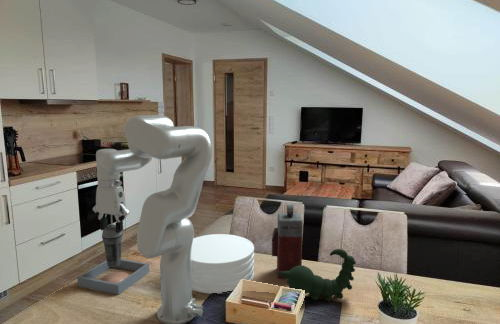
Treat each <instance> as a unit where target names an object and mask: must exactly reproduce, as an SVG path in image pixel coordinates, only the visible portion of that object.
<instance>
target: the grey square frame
mask: <svg viewBox="0 0 500 324" xmlns="http://www.w3.org/2000/svg"><path fill="white" fill-rule="evenodd" d="M111 268H112V267H108V264H107V259H106V260H104V261H103V262H101V263H99V264H97V265H96V266H94V267H92V268H91V269H89V270H87V271H86V272H84V273H82V274H80V275H78V276H77V286H78V287H81V288H86V289H91V290H95V291H99V292H103V293H108V294H109V293H110V294H114V295H121V294H122V293H123V292H125V291H126V290H127V289H129V288H130V287H132V286H133V285H134V284H135V283H137V282H138V281H140V280H141V279H142V278H143V277H145V276H146V275H147V274H149V273H150V263H146V262H141V261H135V260H131V259H130V260H129V259H124V258H121V261H120V265H119V266H116V267H115V268H118V269H123V270H130V271H134V272H132V273H131V274H130V275H129V273H127V272H124V271H115V272H110V273H109V274H105V275H104V276H103V277H102V278H101V279H97V277H99V276H100V275H101V274H102V273H105V272H107V270H109V269H111Z"/></svg>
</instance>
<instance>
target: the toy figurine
mask: <svg viewBox="0 0 500 324" xmlns="http://www.w3.org/2000/svg"><path fill="white" fill-rule="evenodd" d="M334 255H335V256H336V255H337V256H339V257H340V258H342V259H343V262H342V265H341V269H340V270H339V273H338V275H337V276H336V278H334V279H329V278H323V277H322V276H320V275H317V274H315V273H314V272H313V270H311V269H310V267H308V266H306V265H299V266H295V267H293V268H292V269H291V270H290V271H280V272H279V274H280V275H282V276H283V277H284V278H286V279H285V280H286V282H287V285H288V288H289V289H290V288H295V289H302V290H305V294H304V295H306V294H309V295H310V296H311V300H313V301H317V300H319V298H320V296H321V297H323V298H324V301H325V302H326V301H328V302H331V300H332V299H331V298H332V297H334V296H336V297H337V298H338V299H340V300H341V299H343V298H344V293H343V291H344V290H345V289H347V290H352V289H353V286H352V284H351V281H354V280H355V278H354V276H353V274H352V273H355V272H356V269H355V267H354V265H356V263H357V262H356V260H355V258H354V257H353V256H352V255H348V253H347V251H346V250H344V249H342V248H336V249H333V250H331V251H330V253H329V256H334ZM328 302H327V303H328Z"/></svg>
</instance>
